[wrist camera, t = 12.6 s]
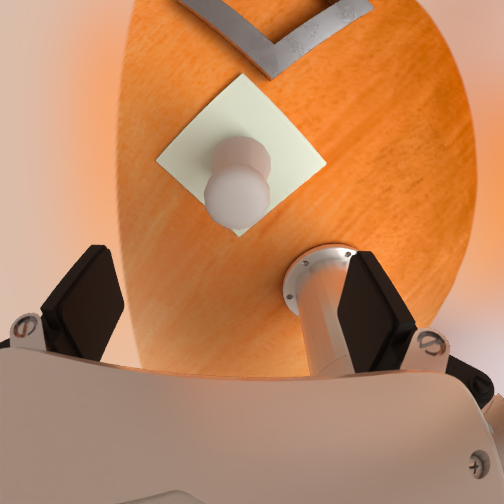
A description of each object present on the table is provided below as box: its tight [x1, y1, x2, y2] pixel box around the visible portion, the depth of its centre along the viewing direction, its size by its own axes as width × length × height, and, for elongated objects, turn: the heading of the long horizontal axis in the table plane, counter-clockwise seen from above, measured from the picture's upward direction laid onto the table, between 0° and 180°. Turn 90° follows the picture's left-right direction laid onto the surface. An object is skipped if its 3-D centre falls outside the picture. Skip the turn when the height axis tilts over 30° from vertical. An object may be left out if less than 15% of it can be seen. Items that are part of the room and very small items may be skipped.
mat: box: [156, 73, 327, 237], centre depth 29 cm, size 13×13×1 cm
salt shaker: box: [204, 136, 271, 230], centre depth 23 cm, size 6×6×13 cm
